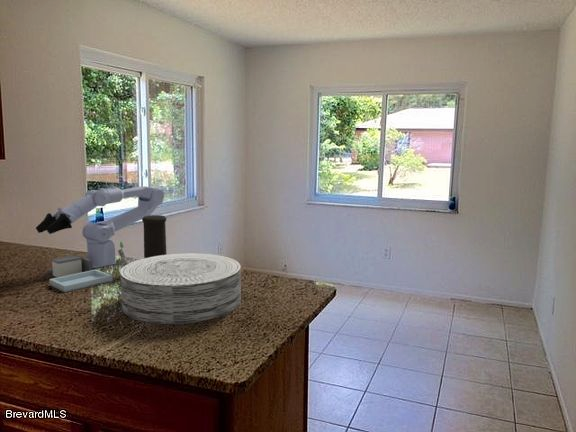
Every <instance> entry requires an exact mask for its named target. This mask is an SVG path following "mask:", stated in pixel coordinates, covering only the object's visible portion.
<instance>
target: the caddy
mask: <svg viewBox="0 0 576 432" xmlns="http://www.w3.org/2000/svg"><path fill="white" fill-rule="evenodd" d="M76 255H77V254H72V255H68V256H61V257H57V258H52V259H51V264H52V269H53V273H52V276H53V277H54V278H58V277H62V276H67V275H72V274H77V273H81V272H82V262H81V257H82V256H81V257H79V256H80V255H78V256H76Z"/></svg>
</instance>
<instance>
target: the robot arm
mask: <svg viewBox="0 0 576 432" xmlns="http://www.w3.org/2000/svg"><path fill="white" fill-rule="evenodd" d="M135 197H137V200H138V201H137V207H134V208H132V209H130V210H127V211H125V212H123V213H121V214H118V215H116V216H114V217H111V218H109V219H107V220H102V221H97V222H94V223H93V222H89V223H86V224H85V225H84V227H83V228H82V232H81V233H82V236H83V238H85V241H86V248H87V250H86V251H87V259H89V260H92V269H98V268H103V267H106V266H111V265H116V264H117V263H118V262H117V260H116V246H115V243H114V241H113V240H110V238H112V237H113V236H115V235H116V233H115V232H117V231H119V230H122V229H124V228H126V227H129V226H130V225H133V224H134V223H136V222H139V221H142V218H143V217H144V216H150V215H152V214H153V212H154V211H155V210H156V209H157V208H158V207H159V206H161V205H162V204H163V202H164V198H165V192H164V190H163V189H162V188H161V187H151V186H134V187H130V188H124V189H121V188H120V187H117V186H114V185H113V186H110V187H109V188H103V187H102V188H99V189H98V190H96V189H91V190H87V191H86V192H85V194H84V196H82V197H80V198H78V199H77V200H75V201H73V202H72V203H71V204H68V205H67V206H65V207H64V208H62V207H60V206H58V207H57V211H56V212H55V213H54V214H51V213H47V214H46V216H45V217H44V219H43V220H42V221H41V222H40V223H39V224H38V225H37V226H35V229H36V231H37V233H38V234H40V233H41V234H42V233H43V232H45V231H47V233H48V234H49V235H51V234H54V233H57V232H60V231H62V230H65V229H66V230H67V229H72V228H73V226H72V224H73V223H75V222H77V221H78V219H80V218H81V217H83V216H85V215H86V214H87V213H90V212H91V211H93V210H94V209H96V208H97V207H105V206H106V205H108V204H115V203H120V202H121V201H122V200H123V199H124V198H125V199H126V198H135Z"/></svg>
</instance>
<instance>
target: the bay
mask: <svg viewBox="0 0 576 432" xmlns="http://www.w3.org/2000/svg"><path fill="white" fill-rule="evenodd" d="M75 255H76V256H79V257H81V262H82V272H86V271H91V270H93V268H92V260H89V259H88V258H86V257H83V256H81V255H77V254H75ZM44 271H45V272H44V273H45V275H48V274H53V268H52V269H46V270H44Z"/></svg>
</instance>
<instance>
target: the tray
mask: <svg viewBox="0 0 576 432" xmlns="http://www.w3.org/2000/svg"><path fill="white" fill-rule="evenodd" d="M110 282H111V283H112V282H113V275H112V274H109V273H107V272H104V271H102V270H99V269H92V270H91V271H86V272H81V273H77V274H72V275H67V276H62V277H54V278H49V282H48V283H49V286H51V287H53V288H55V289H57V290H58V291H61V292H64V293H68V292H72V291H77V290H81V289H85V288H91V287H94V286H99V285H103V284H107V283H110Z"/></svg>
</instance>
